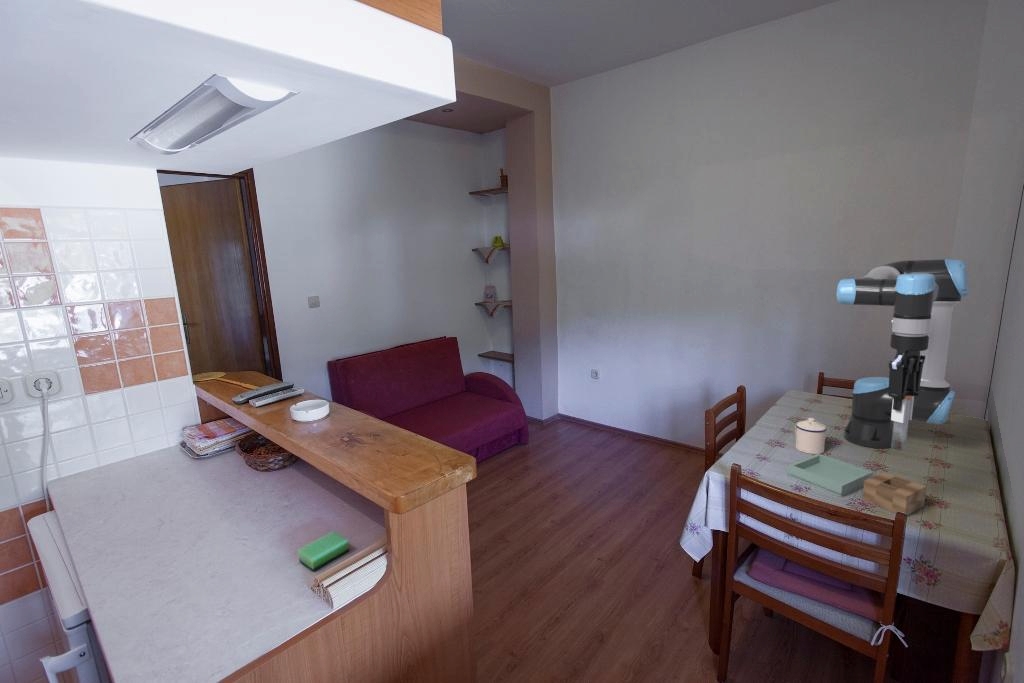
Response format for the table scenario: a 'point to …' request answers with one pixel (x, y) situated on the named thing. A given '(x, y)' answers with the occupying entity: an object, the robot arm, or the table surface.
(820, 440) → the teacup with lid
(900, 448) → the pin
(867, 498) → the block
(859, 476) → the tray
